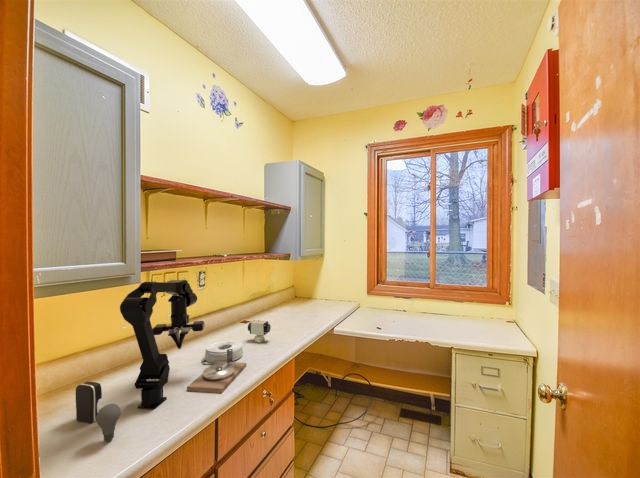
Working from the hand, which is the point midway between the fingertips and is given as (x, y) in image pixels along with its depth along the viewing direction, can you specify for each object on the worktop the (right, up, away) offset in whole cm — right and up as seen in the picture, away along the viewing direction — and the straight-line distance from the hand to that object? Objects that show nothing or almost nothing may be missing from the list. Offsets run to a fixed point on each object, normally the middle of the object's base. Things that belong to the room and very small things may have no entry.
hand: (179, 348), depth 116 cm
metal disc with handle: (+17, -10, +1) cm, 19 cm away
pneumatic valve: (+24, -12, +40) cm, 48 cm away
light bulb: (-2, -12, -36) cm, 38 cm away
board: (+16, -12, 0) cm, 20 cm away
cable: (+12, -12, +20) cm, 26 cm away
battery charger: (-16, -13, -26) cm, 33 cm away
